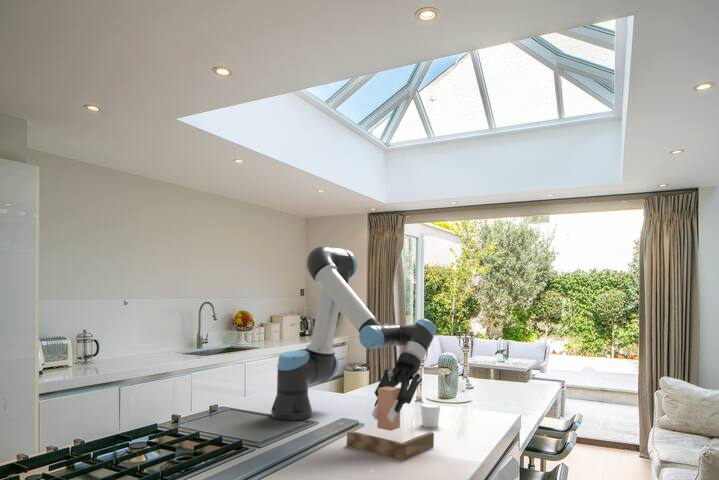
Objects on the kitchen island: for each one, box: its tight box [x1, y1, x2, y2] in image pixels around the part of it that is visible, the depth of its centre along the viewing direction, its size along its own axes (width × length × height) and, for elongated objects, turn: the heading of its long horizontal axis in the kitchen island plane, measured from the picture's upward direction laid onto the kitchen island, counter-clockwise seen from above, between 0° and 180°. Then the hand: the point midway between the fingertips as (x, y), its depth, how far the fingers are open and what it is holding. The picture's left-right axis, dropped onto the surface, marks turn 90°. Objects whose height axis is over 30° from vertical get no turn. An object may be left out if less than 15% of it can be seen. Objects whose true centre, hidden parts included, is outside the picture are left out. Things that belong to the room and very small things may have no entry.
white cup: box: [420, 403, 441, 428], centre depth 184 cm, size 7×7×7 cm
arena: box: [346, 430, 435, 461], centre depth 158 cm, size 20×18×4 cm
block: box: [376, 386, 401, 432], centre depth 160 cm, size 5×5×12 cm
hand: (381, 418), depth 156 cm, fingers closed on block, 5 cm apart
